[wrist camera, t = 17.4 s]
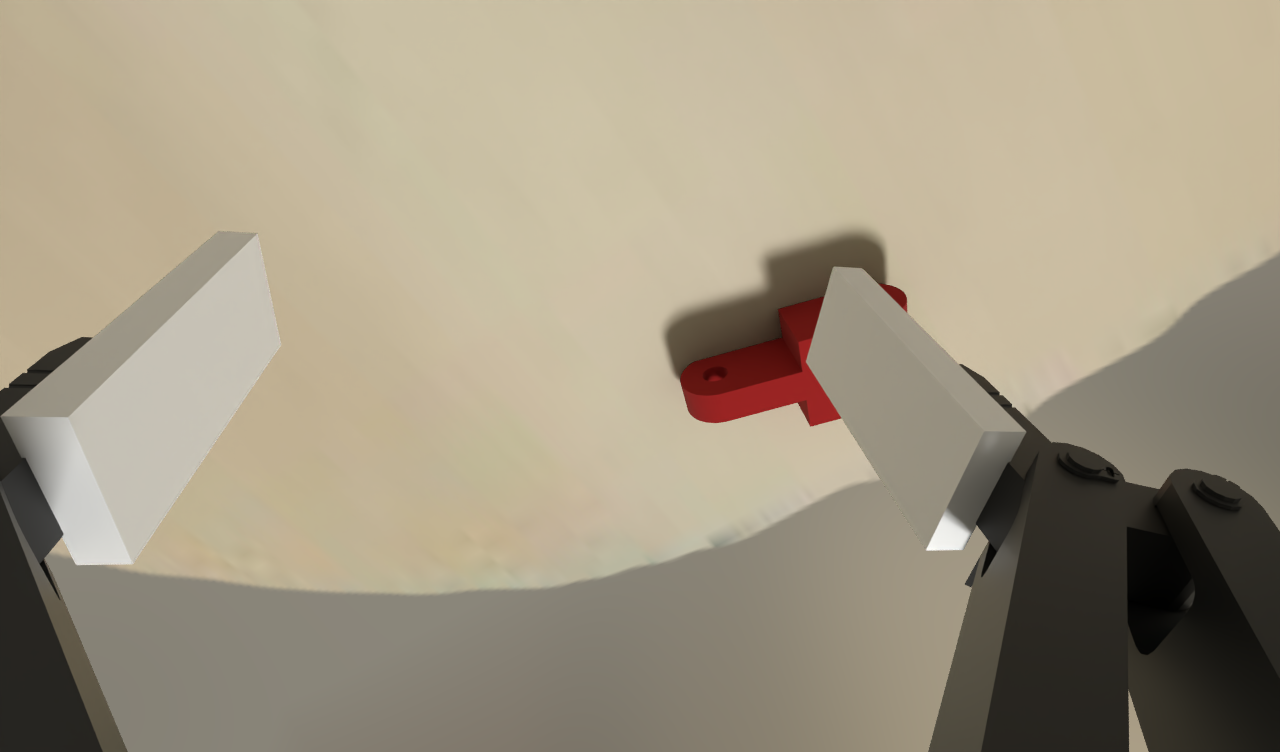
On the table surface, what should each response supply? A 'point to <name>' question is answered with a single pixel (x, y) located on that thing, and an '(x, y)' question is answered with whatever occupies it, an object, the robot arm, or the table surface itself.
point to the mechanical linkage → (765, 373)
